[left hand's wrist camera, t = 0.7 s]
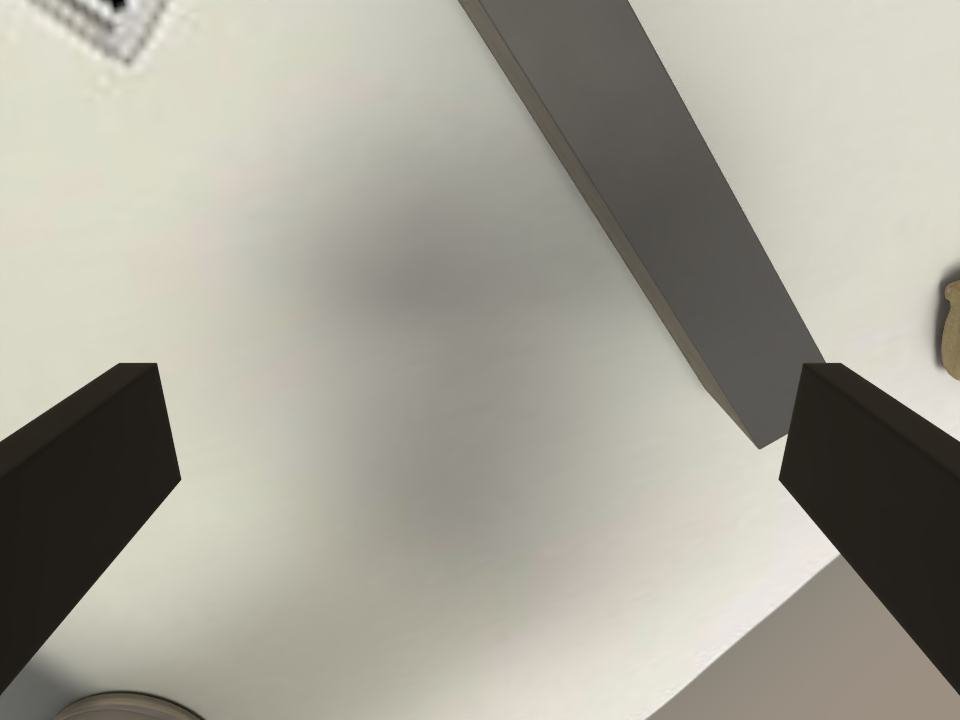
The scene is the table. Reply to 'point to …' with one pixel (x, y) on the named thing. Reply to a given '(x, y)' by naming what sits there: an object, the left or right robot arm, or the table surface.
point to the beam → (656, 196)
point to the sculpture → (952, 332)
